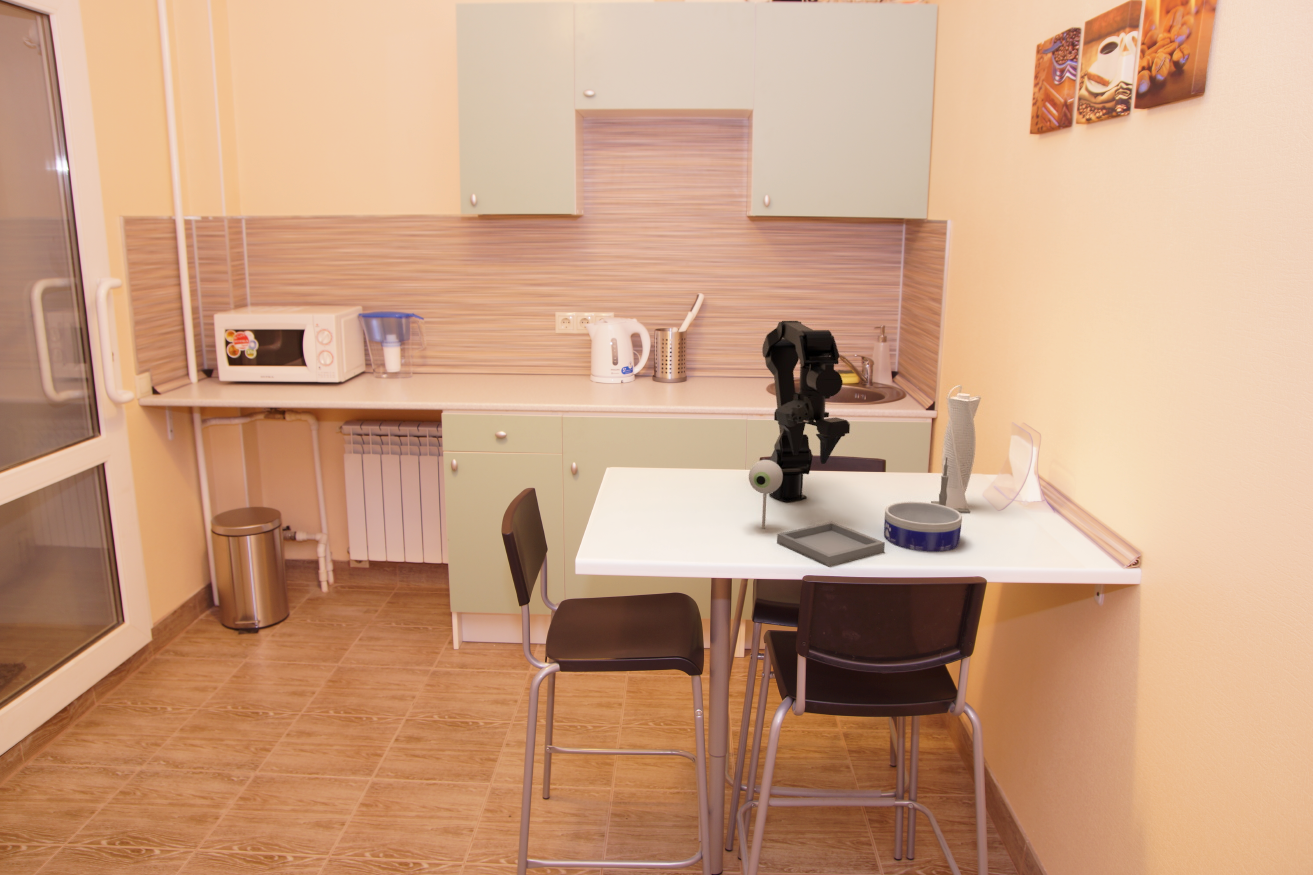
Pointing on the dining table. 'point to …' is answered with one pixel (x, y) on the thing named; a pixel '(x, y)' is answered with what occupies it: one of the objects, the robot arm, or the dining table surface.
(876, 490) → the dining table surface
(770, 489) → the lollipop
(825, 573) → the dining table surface
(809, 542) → the tray
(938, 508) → the dog bowl
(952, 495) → the skyscraper
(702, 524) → the dining table surface
